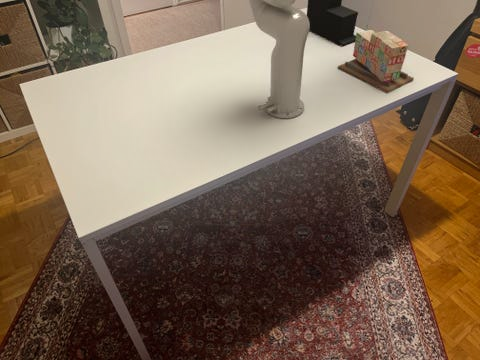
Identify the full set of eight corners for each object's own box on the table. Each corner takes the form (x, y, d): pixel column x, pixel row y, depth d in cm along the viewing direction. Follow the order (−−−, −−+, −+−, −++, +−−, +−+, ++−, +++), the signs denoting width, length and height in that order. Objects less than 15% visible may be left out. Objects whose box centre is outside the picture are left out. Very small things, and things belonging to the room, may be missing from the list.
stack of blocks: (352, 56, 141) (357, 23, 132) (366, 53, 142) (373, 20, 133) (383, 82, 126) (391, 47, 117) (399, 79, 127) (409, 44, 118)
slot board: (386, 93, 125) (388, 86, 123) (337, 68, 139) (338, 62, 137) (413, 80, 131) (415, 74, 129) (363, 57, 145) (364, 51, 143)
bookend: (360, 40, 156) (371, -21, 140) (341, 47, 152) (351, -15, 136) (322, 24, 171) (329, -33, 155) (304, 29, 167) (309, -28, 151)
